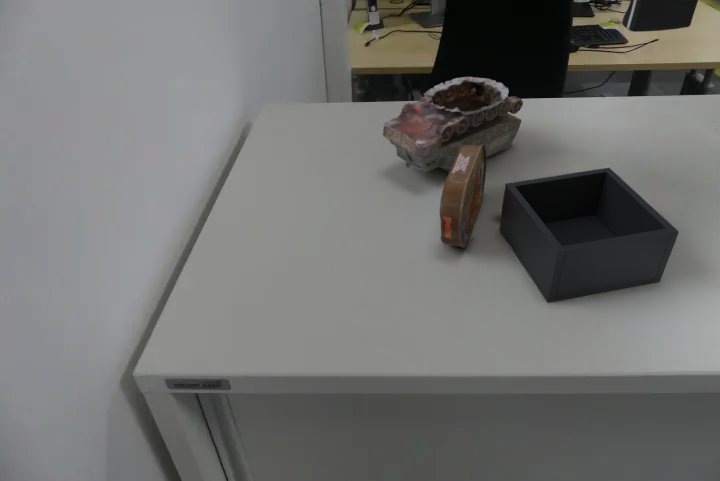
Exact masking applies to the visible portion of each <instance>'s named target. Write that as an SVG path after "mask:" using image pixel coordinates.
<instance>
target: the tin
mask: <svg viewBox="0 0 720 481" xmlns="http://www.w3.org/2000/svg"><path fill="white" fill-rule="evenodd" d="M486 171H487V157H486V148H485V146H484V145H463V146H462V147H461V148H460V149H459V152H458V154H457V156H456V158H455V160H454V163H453V165H452V167H451V169H450V172H448V174H447V177H446V179H445V181H444V184H443V188H442V192H441V197H440V203H439V219H440V241H441V243H442V244H444V245H448V246H454V247H461V248H466V247H467V246H468V243H469V241H470V238H471V236H472V233H473V229H474V226H475V224H476V220H477V218H478V215H479V212H480V209H481V206H482V201H483V197H484V190H485V184H486V173H487V172H486Z"/></svg>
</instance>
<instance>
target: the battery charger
mask: <svg viewBox="0 0 720 481" xmlns="http://www.w3.org/2000/svg"><path fill="white" fill-rule="evenodd" d="M698 2H699V0H630V2H629V5H628V7H627V9H626V11H625V13H624V15H623V17H622V22H621V23H622V26H624V28H626V30H627V31H629V32H632V33H633V32H634V33H637V32H638V33H639V32H640V33H642V32H644V33H646V32H659V31H660V32H661V31H669V30H678V29H686V28H689V27H691V25H692V22H693V17H694V14H695V12H696V10H697V9H696V8H697V5H698Z"/></svg>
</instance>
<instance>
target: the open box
mask: <svg viewBox="0 0 720 481" xmlns="http://www.w3.org/2000/svg"><path fill="white" fill-rule="evenodd" d="M499 232H500V233H501V235H502V236H503V238H504V239H505V241H506V242H507V244H508V245H509V247H510V248H511V250H512V251H513V253H514V255H515V256H516V258H517V259H518V260H519V262H520V263H521V265H522V267H523V268H524V269H525V271H526V272H527V274H528V275H529V277H530V279H531V280H532V282H533V283H534V284H535V286H536V287H537V290H539V292H540V293H541V295H542V297H543V298H544V300H545V301H546V302H547V303H552V302H557V301H561V300H568V299H572V298H579V297H584V296H590V295H594V294H600V293H605V292H611V291H616V290H621V289H627V288H633V287H638V286H644V285H648V284H654V283H655V284H656V283H659V282H661V280H662V278H663V275H664V272H665V270H666V267H667V264H668V261H669V259H670V258H671V254H672V251H673V248H674V246H675V243H676V241H677V238H678V235H679V233H680V231H679V230H678V229H677V228H676V227H675V226H674V225H672V224H671V223H670V222H669V221H668V220H667V219H666V218H665V217H664V216H662V215H661V213H659V212H658V210H656V209H655V208H654V207H653V206H652V205H651V204H650V203H648V201H646V199H644V198H643V197H642V196H641V195H640V194H639V193H637V191H636V190H634V189H633V188H632V187H631V186H630V185H629V184H628V183H627V182H626V181H625V180H623V178H621V177H620V176H619V175H618V174H617V173H616V172H615V171H614V170H613V169H612V168H610V167H603V168H598V169H591V170H584V171H578V172H572V173H566V174H559V175H553V176H545V177H539V178H533V179H527V180H520V181H513V182H506V183H505V185H504V193H503V199H502V207H501V215H500V223H499Z"/></svg>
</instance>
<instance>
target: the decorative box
mask: <svg viewBox="0 0 720 481" xmlns="http://www.w3.org/2000/svg"><path fill="white" fill-rule="evenodd" d="M433 86H434V87H431V88H429V90H426V91H425V92H424V93H423V95H424V96H422V97H420V98H419V99H418V100H417V101H415V102H412V101H411V102H407V103H405V104H403V107H402V108H401V111H400V114H399V115H398V116H397V117H393V118H391V119H390V120H387V121H385V122H384V123H383V131H382V136H383V137H384V138H385V139H387V140H388V141H389V143H390V144H391V145H393V146H394V147H395V151H396V156H397V157H399V158H400V159H402V160H403V161H405V168H406V169H410V167H413V168H415V169H416V170H418V171H420V172H421V171H422V172H424V173H425V172H426V173H427V172H429V171H433V170H434V169H437V168H440V169H443V170H445V171H446V172H448V173H449V172H450V169H451V167H452V165H453V163H454V160H455V158H456V156H457V154H458V152H459V149H460V148H461V147H462V146H463V145H484V146H485V148H486V158H488V157H490V156H493V155H494V154H497V153H499V152H501V151H503V150H505V149H508V148H510V147H512V144H513V142H514V140H515V139H516V137H517V134H518V132H519V129H520V128H521V124H522V119H521V118H519V117H517V116H515V115H516V114H517V113H518V112H520V111H521V109H522V108H523V105H524V101H523V99H522V98H519V97H517V96H515V95H514V96H508V95H509V92H510V91H509V90H510V89H509V88H508V86H505V85H504V83H502V82H498V81H496V79H495V80H494V79H491V78H485V77H476V76H475V77H474V76H461V77H455V78H453V79H451V80H446V81H445V82H440V83H439V84H437V85H433Z"/></svg>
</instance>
